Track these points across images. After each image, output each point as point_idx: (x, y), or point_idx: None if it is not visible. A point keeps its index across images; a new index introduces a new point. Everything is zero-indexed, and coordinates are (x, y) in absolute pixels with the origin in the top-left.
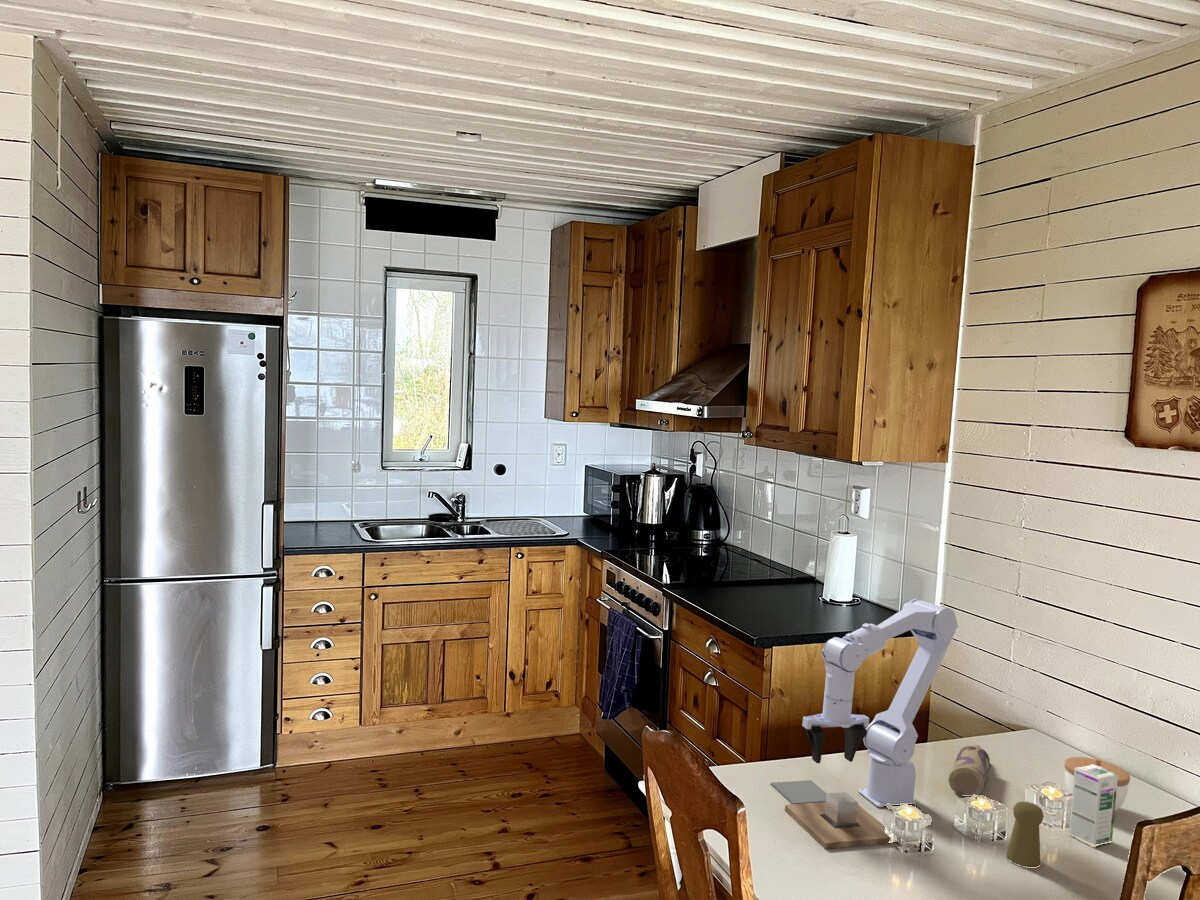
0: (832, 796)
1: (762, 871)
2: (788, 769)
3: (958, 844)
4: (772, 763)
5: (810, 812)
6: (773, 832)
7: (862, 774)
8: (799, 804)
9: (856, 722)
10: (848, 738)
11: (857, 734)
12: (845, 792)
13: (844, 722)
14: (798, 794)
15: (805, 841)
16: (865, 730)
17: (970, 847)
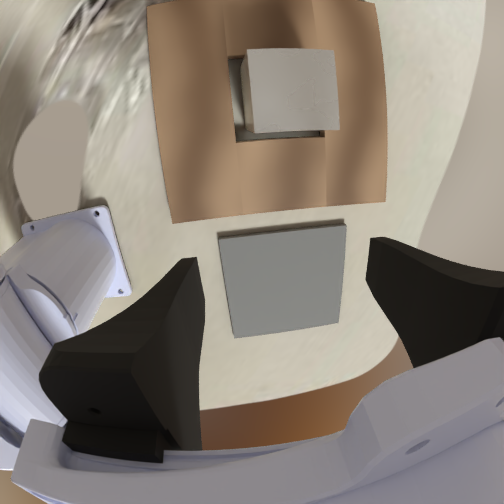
0: (329, 102)
1: (483, 9)
2: (258, 377)
3: (17, 41)
4: (278, 393)
5: (343, 152)
6: (442, 104)
7: None
8: (349, 200)
9: (142, 487)
10: (190, 373)
11: (144, 350)
12: (257, 129)
13: (424, 460)
14: (306, 271)
15: (397, 49)
16: (49, 383)
17: (5, 36)
